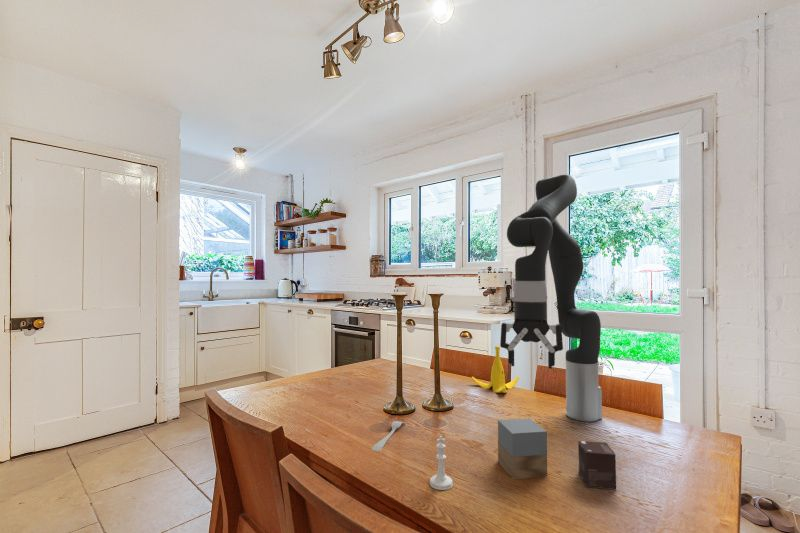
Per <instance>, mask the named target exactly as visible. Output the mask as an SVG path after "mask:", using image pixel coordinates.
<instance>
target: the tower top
mask: <svg viewBox="0 0 800 533" xmlns="http://www.w3.org/2000/svg"><path fill="white" fill-rule="evenodd" d="M498 442H499V443H500V444H501V445H502V446H503V447H504V448H505V449H506V450H507V451H508V452H509V454H510V455H511V456H512V457H518V456H532V455H545V454H547V455H548V431H547V430H546V429H545V428H543V427H542V426H541V425H539V424H538V423H536V422H535V421H534V420H533V419H531V418H530V417H529V418H528V417H527V418H511V419H498V420H497V443H498Z"/></svg>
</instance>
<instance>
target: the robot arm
mask: <svg viewBox="0 0 800 533" xmlns="http://www.w3.org/2000/svg"><path fill="white" fill-rule="evenodd" d="M577 196H578V188H577V184H576V180H575V179H574V177H573V176H572V175H571V174H568V173H567V174H566V173H565V174H559V175H556V176H551V177H546V178H542V179H540V180H538V181H537V182H536V183H535V197H536V201H534V203H533V204H532V205H531V206H530V207H529V208H528V210H527V211H525V212H523V213H521V214H519V215H517V216H515V217H514V218H513V219H512V220H510V223H508V226H507V230H506V238H507V241H508V242H509V244H510V245H512V246H513V247H516V248H529V247H530V248H531V247H532V248H533V247H534V250H533V251H532V252H531V254H529V255H525V256H520V257H518V258H516V260H515V262H514V263H515V264H514V271H515V273H514V287H513V288H514V291H513V302H514V304H513V306H514V309H513V310H514V312H513V313H514V317H513V318H514V321H513V323H507V322H505V321H504V322H502V323H501V328H500V342H499V343H500V344H499V347H500V348H501V349H502V348H504V349H506V350H507V352H508V353H507V355H508V356H507V357H508V358H507V359H508V360H507V363H508V364H510V366H511V367H515V348H516V346H517V345H518V344H519V343H520V342H521V341H522V342H524V343H528V342H529V343H530V342H532V343H539V342H541V343H542V344H543V346H544V347H545V348H546V349H547V350H548V351H547V367H548V369H550V370H551V369H552V367H555V365H556V352H560V351H563V350H564V344H563V343H564V342H563V335H564V336H565V337H567V338H571V339H577V340H579V343H578V346H577V347H576V348H571V349H568V350H566V352H565V395H566V396H565V400H566V401H565V402H566V403H565V404H566V408H565V409H566V416H568V417H569V418H570V419H573V420H576V421H580V422H597V421H599V420H600V419H601V420H602V419H603V401H602V399H603V397H602V396H603V394H602V391H603V390H602V387H601V386H600V385H599V356H600V352H601V334H602V333H601V329H602V327H601V326H602V324H601V318H600V316H599V314H598V312H596V311H595V310H589V309H578V308H577V306H576V302H575V292H576V289H577V287H578V284H579V282H580V280H581V278H582V275H583V271H584V262H583V261H584V260H583V255H582V250H581V246H580V245H579V243H578V242H577V240H576V239H575V238H574V237H573V236H572V235H571V234H570V233H569V232H568V231H567V229H565V228H564V227H563V226H562V225H561V223H560V222H559V221H558V219H557V217H558V216H559V215H560V214H561V213H562V212H563V211H564V210H565V209H567V208H568V207H569V206H571V205H572V204H573V203H574V202H575V201H576V200H577ZM547 257H548V258H549V263H550V267H551V273H552V277H553V283H554V288H555V295H556V306H557V316H558V317H557V318H558V323H556V324H549V323H548V291H547V289H548V288H547V284H546V262H547ZM511 329H513V331H514V332H515V334H516V335H515V336H514V337H513V339H512V341H510V343H508V342H507V333H509V332H510V331H511ZM549 331H551V332H552V333H553V335H555V341H556V342H555V343H556V344H555V345H552V344H551V342H550V340H548V339H547V337H546V335H547V334H548V333H549Z"/></svg>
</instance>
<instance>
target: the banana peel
mask: <svg viewBox="0 0 800 533" xmlns="http://www.w3.org/2000/svg"><path fill="white" fill-rule="evenodd" d="M494 348H495V357H494V359H493V360H494V361H493V364H492V367H491V373H490V382H489V383H487V382H486V383H485V382H483V381H480V380H478V378H477V379H476V378H475V377H474V376H471V379H472V381H474V383H476V384H477V385H478V386H479V387H481V388H483V389H487V390H489V389H490V388H492V392H494V393H495V394H498V393H499V394H500V393H503V394H504V393H505V394H506V393H507V389H508V390H510V389H513V388H514V387H515V386H516V385H517V383H518V381H519V378H520V377H519V376H516V377H515V378H514V379H513V380H511V381H509V382H507V383H506V376H505V370H504V366H503V363H502V360H501V356H500V349H501V346H500V345H495V346H494Z"/></svg>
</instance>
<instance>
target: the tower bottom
mask: <svg viewBox="0 0 800 533" xmlns="http://www.w3.org/2000/svg"><path fill="white" fill-rule="evenodd" d="M497 462H498V464H500V465H501V467H502V468H503V469H504V470H505V472H506V474H508V475H509V476H510V478H512V480H519V479H528V478H529V479H530V478H539V477H548V453H547V454H545V455H532V456H518V457H512V456H511V455H510V454H509V452H508V451H507V450H506V449H505V448H504V447H503V446H502V445H501V444H500V443H499V442H498V441H497Z"/></svg>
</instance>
